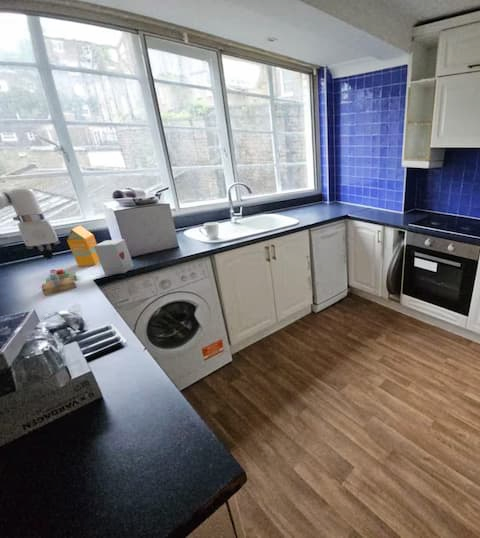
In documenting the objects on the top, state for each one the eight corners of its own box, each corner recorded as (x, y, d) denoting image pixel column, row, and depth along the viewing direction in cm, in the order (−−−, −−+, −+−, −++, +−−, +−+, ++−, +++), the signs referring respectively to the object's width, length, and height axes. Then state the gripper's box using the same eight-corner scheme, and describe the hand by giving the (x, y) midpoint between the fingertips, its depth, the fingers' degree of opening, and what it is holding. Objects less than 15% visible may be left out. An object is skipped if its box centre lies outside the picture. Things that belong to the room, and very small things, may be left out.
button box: (48, 287, 131) (44, 279, 130) (47, 282, 136) (44, 274, 134) (77, 280, 138) (74, 272, 136) (76, 275, 142) (73, 268, 141)
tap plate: (43, 297, 122) (39, 290, 121) (43, 289, 129) (39, 283, 128) (78, 288, 129) (75, 281, 128) (76, 281, 136) (73, 274, 135)
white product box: (124, 273, 143) (113, 244, 137) (104, 275, 142) (92, 245, 136) (134, 266, 151) (124, 238, 145) (115, 268, 150) (104, 240, 144)
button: (54, 276, 133) (52, 273, 132) (54, 274, 135) (52, 271, 135) (64, 274, 135) (63, 270, 135) (64, 272, 137) (62, 268, 137)
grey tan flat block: (60, 284, 126) (55, 273, 124) (55, 285, 125) (49, 274, 123) (60, 279, 131) (54, 269, 129) (55, 281, 130) (49, 270, 128)
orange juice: (103, 259, 163) (89, 224, 155) (96, 265, 155) (80, 228, 147) (86, 261, 161) (71, 225, 153) (78, 267, 153) (61, 230, 145)
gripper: (4, 222, 117) (25, 265, 124) (56, 216, 127) (72, 256, 134) (6, 219, 122) (25, 260, 129) (55, 214, 132) (71, 252, 139)
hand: (49, 258), depth 132 cm, fingers closed
